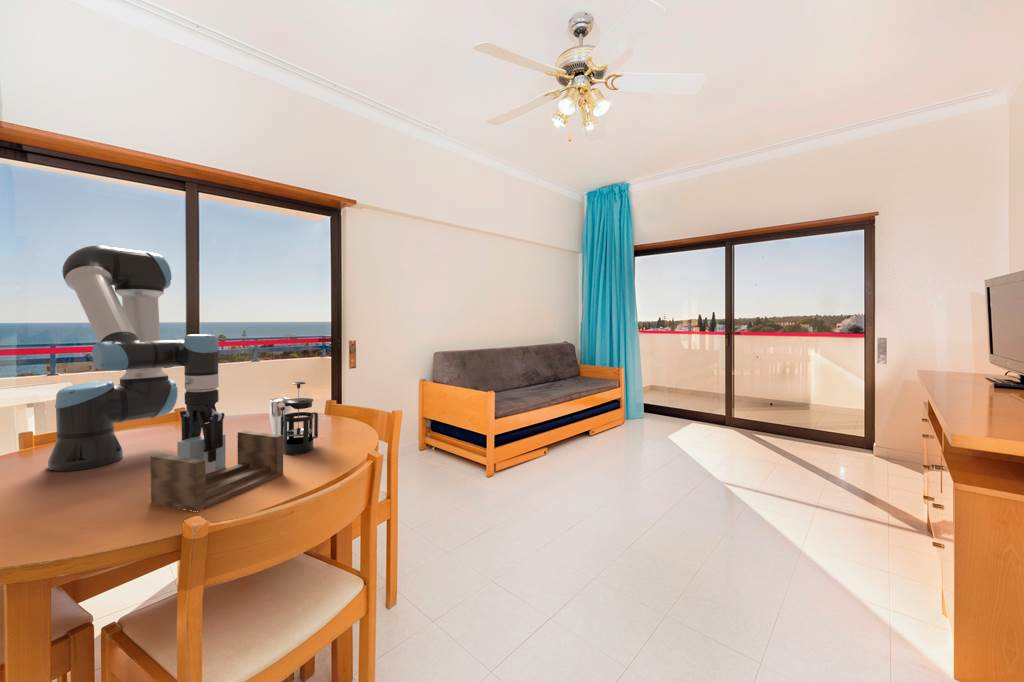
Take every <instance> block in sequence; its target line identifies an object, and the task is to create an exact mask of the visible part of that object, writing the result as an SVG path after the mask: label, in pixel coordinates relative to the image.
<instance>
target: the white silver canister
mask: <svg viewBox="0 0 1024 682" xmlns="http://www.w3.org/2000/svg"><path fill="white" fill-rule="evenodd" d="M288 399H292V398H290V397H277V398H271V399H270V400H269V411H268V412H269V413H268V415H269V421H270V426H271V434H276V435H283V441H284V421H283V416H284V415H286V414H289V413H293V412H292V411H293V408H292V407H291V406H287V407H285V403H283V401H285V400H288ZM288 430H289V422H287V431H288ZM287 439H289V436H287Z"/></svg>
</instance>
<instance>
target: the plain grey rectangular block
mask: <svg viewBox="0 0 1024 682" xmlns="http://www.w3.org/2000/svg"><path fill="white" fill-rule="evenodd" d="M176 444H177V446H176V447H177V450H176V451H177V453H176V454H177V455H176V456H178V457H184V458H191V459H198V460H204V450H206V446H205V441H204V435H203V434H200V436H197V437H193V438H190V439H186V440H182V439H181V440H178V441H177V442H176ZM225 468H226V433H223V446H222V447H220V448H217V449H216V461H215V471H214V472H216V471H217V472H218V471H221V470H224V469H225Z"/></svg>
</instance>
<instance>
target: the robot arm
mask: <svg viewBox="0 0 1024 682" xmlns="http://www.w3.org/2000/svg"><path fill="white" fill-rule="evenodd" d="M61 273H62V277H63V279H64V281H65V284H66V285H67V287H68V288H70V289H71V290H73V291H74V292H75V295H77V299H78V300H79V302H80V305H81V306H82V309H83V311H84V313H85V316H86V318H87V320H88V321H89V323H90V326H91V328H92V330H93V333H94V334H95V336H96V339H97V341H98V342H96V343H95V344H94V346H93V347H92V352H91V353H92V354H91V357H92V362H93V365H94V367H95V368H96V369H98V371H103V372H105V371H106V372H109V371H110V372H111V371H113V372H115V371H117V372H118V371H119V372H120V371H121V372H122V371H125V373H124V374H123V375H122V376H121V377H119V384H115V383H114V382H113V381H112V380H99V381H89V382H83V383H77V384H73V385H70V386H69V385H68V386H66V387H63V388H61V389H60V390H58V391H57V393H56V397H55V405H54V408H55V412H56V413H55V414H56V415H55V416H56V417H55V418H56V419H55V420H56V421H55V422H56V424H55V427H56V442H55V444H54V446H53V448H52V451H51V452H50V455H49V458H48V460H47V469H48V470H49V469H50V470H49V471H51V470H54V472H72V471H81V470H87V469H93V468H98V467H102V466H105V465H110V464H112V463H115V462H117V461H120V460H121V459H122V458H123V457H124V456H123V455H124V453H123V450H124V449H123V447H122V445H121V444H120V442H119V440H118V437H117V435H116V433H115V424H117V423H124V422H129V421H137V420H143V419H148V418H149V419H154V418H157V417H160V416H162V417H163V416H166V415H168V414H169V413H171V412H172V411H173V409H174V408H175V406H176V404H177V401H178V394H179V393H178V387H177V383H176V382H175V381H174V380H173V379H169V374H168V373H166V372H165V371H164V370H163V368H172V367H176V368H177V367H184V389H185V390H186V391H184V405H186V406H187V409H184V410H180V411H179V416H180V418H181V420H180V421H181V441H182V440H186V439H190V438H193V437H197V436H201V435H204V441H205V446H206V450H204V461H205V476H207V475H210V474H213V473H215V472H216V471H215V461H216V449H217V448H220V447H222V446H223V434H224V419H225V416H226V415H225V413H224V412H219V411H217V408H216V403H218V402H219V398H220V397H219V390H218V388H219V387H220V386H219V385H220V384H219V350H220V347H219V343H218V342H219V339H218V336H217V335H216V334H206V333H205V334H203V333H202V334H201V333H200V334H199V333H198V334H197V333H195V334H194V333H193V334H187V335H185V336H184V338H183V339H172V340H169V339H167V340H161V329H160V311H159V298H160V297H161V296H162V295H164V294H165V293H164V290H165V289H168V288H169V287H170V286H171V282H172V270H171V267H170V265H169V262H168V261H167V260H166V259H165V257H164V256H163V255H161V254H159V253H156V252H155V253H154V252H149V251H146V250H136V249H129V248H121V247H120V248H119V247H113V246H107V245H98V244H97V245H89V246H85V247H82V248H80V249H78V250H76V251H73V253H71V254H70V255H69V256H68V257H67V258H66V260H65V261H64V263H63V265H62V271H61ZM113 286H114V288H113ZM118 296H120V297H121V302H122V303H121V302H120V300H119V298H118ZM201 432H202V433H203V434H201ZM109 463H110V464H109Z"/></svg>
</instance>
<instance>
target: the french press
mask: <svg viewBox="0 0 1024 682" xmlns="http://www.w3.org/2000/svg"><path fill="white" fill-rule="evenodd" d="M305 384H306V382H305V381H295V382H292V383H291V385H294V386H295V385H296V388H297V397H296V398H291V399H288V400H285V401H283V403H285V407H287V406H291V407H292V409H294V410H297V412H292V413H289V414H286V415H284V416H283V421H284V441H283V453H284V454H283V455H287V454H288V456H296V455H295V454H298V455H303V454H302V453H304V454H307V453H306V452H308V453H310V452H309V451H311V450H313V449H315V447H314V440H315V439H317V438H318V436H319V424H318V423H319V414H318V412H315V411H314V412H309V411H300V410H305V409H309V408H311V407H313V402H314V401H315V400H314V398H311V397H309V398H308V397H300V389H301V385H305ZM313 421H314V422H313ZM287 422H289V430H288V431H287ZM301 422H303V423H302V424H303V425H302V427H301V428H300V423H301ZM295 423H297V428H295ZM313 429H314V430H313ZM287 436H289V439H287ZM313 451H314V450H313ZM311 452H312V451H311Z"/></svg>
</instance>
